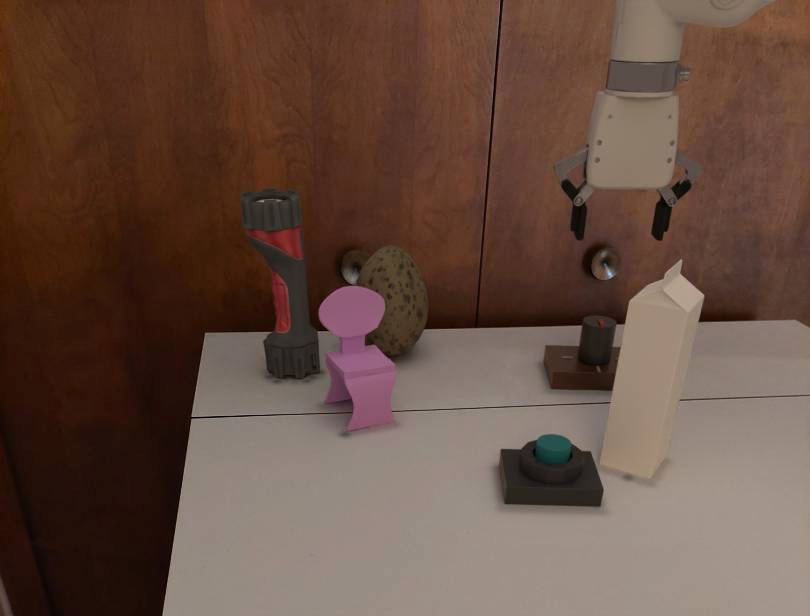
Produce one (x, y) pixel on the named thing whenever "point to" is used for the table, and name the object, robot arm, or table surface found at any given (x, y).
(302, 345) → the flashlight
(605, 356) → the dial
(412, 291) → the decorative egg
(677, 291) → the milk
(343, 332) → the toy chair
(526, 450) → the push button base
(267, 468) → the table surface
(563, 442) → the teal push button
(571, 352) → the dial panel
